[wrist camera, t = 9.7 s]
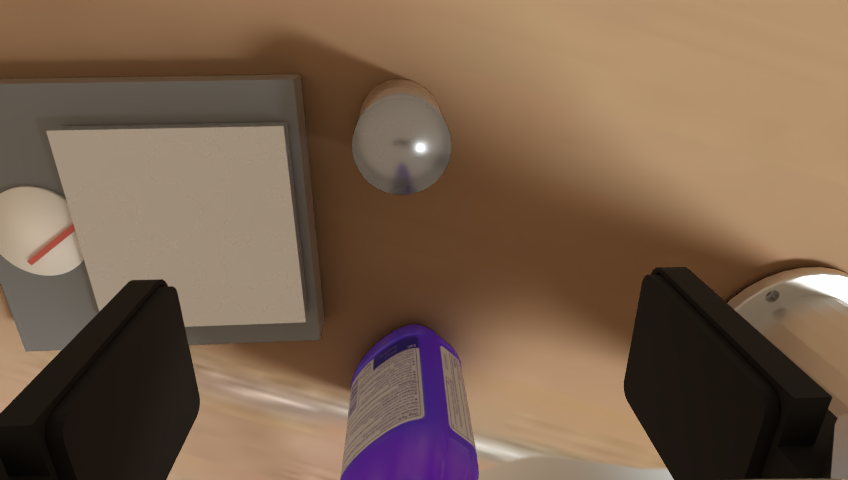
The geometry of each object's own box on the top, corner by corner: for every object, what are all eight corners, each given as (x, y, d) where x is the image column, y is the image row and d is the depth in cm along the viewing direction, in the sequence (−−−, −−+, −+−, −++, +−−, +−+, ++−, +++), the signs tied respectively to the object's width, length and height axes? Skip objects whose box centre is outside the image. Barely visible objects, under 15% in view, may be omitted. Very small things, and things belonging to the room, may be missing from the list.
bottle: (397, 416, 37) (402, 721, 21) (335, 371, 35) (291, 668, 20) (473, 352, 36) (540, 634, 20) (412, 302, 34) (431, 567, 18)
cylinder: (440, 78, 28) (452, 96, 23) (440, 159, 30) (450, 193, 25) (357, 79, 28) (348, 97, 23) (361, 160, 30) (355, 196, 24)
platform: (287, 121, 26) (283, 126, 26) (308, 313, 31) (305, 322, 30) (58, 126, 26) (46, 130, 25) (113, 320, 30) (104, 329, 29)
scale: (300, 74, 28) (291, 80, 25) (324, 320, 34) (319, 344, 31) (-39, 79, 27) (-82, 86, 25) (48, 330, 33) (20, 356, 31)
